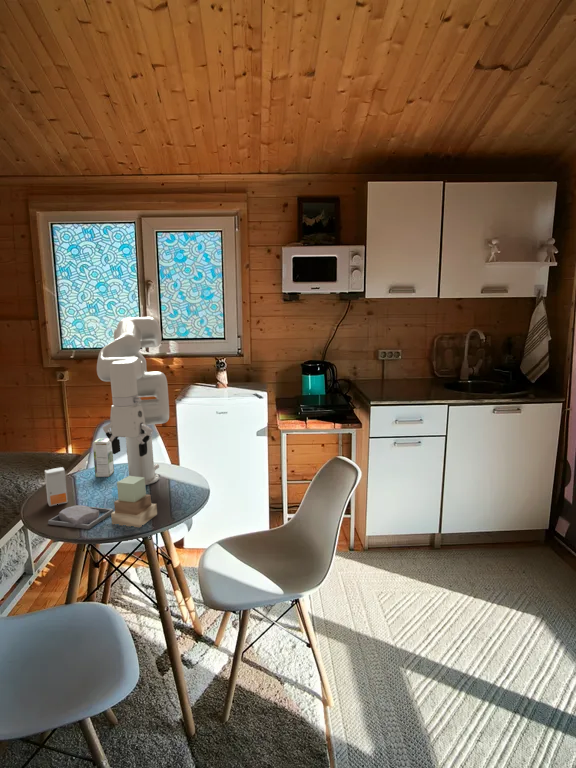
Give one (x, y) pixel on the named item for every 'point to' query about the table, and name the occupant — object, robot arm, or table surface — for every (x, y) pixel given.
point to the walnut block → (133, 506)
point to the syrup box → (103, 457)
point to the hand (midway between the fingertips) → (129, 453)
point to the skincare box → (56, 486)
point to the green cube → (131, 489)
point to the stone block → (78, 515)
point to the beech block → (135, 517)
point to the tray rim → (84, 526)
